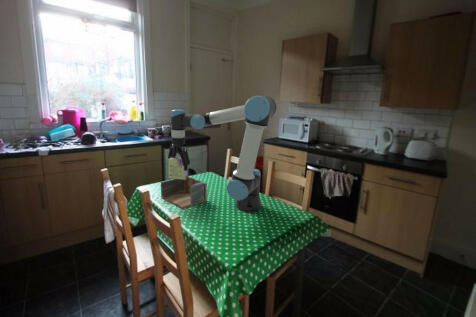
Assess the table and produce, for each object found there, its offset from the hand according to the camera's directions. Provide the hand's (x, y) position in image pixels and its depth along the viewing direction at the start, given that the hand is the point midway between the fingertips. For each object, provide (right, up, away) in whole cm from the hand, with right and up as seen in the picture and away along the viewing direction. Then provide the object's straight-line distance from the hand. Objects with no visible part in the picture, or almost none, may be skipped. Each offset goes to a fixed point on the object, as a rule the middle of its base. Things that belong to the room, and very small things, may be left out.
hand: (178, 173), depth 150 cm
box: (0, -3, +1) cm, 3 cm away
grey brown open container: (+2, -16, +7) cm, 18 cm away
